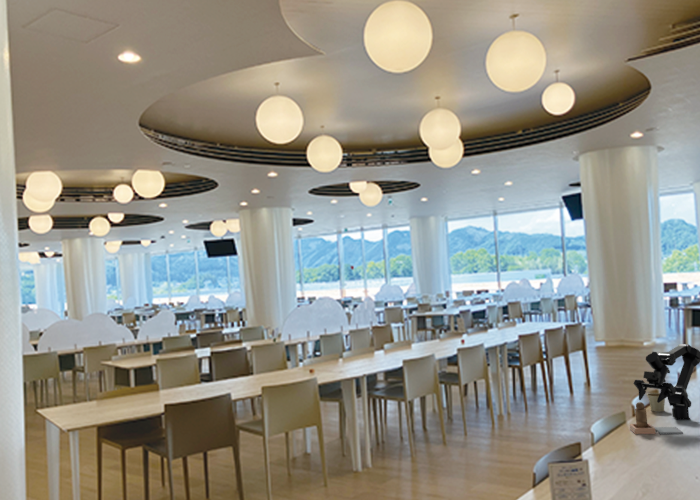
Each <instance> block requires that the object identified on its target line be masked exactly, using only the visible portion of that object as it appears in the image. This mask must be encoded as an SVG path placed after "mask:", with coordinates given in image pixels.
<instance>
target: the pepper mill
mask: <svg viewBox="0 0 700 500" xmlns="http://www.w3.org/2000/svg"><path fill="white" fill-rule="evenodd" d="M634 413H635V422H636V423H635V424H636V426H637V428H648V425H647V424H648V416H647V408H645V404H644V403H643V402H641V401H639V402H638V401H637V402H636V404H635V409H634Z"/></svg>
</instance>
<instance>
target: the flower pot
mask: <svg viewBox="0 0 700 500" xmlns="http://www.w3.org/2000/svg"><path fill="white" fill-rule="evenodd" d="M659 394H660V392H650V393H646V396H647V398H648V401H649V405H650V411H652V412H656V413H660V412H664V411H665V401H666V398H665V399H663V400H662V401H661V402H659V403H658V402H657V400H658V397H659Z"/></svg>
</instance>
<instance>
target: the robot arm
mask: <svg viewBox="0 0 700 500" xmlns="http://www.w3.org/2000/svg"><path fill="white" fill-rule="evenodd" d="M680 357H682V360H683V365H682V368H681V370H680V372H679V374H678V375H679V376H678V378H677V382H676V384H675V386H674V385H673V383H672V382H666V381H667V380H666V376H667V374H671V370H670V369H669V367H668V366H673V365H674V364H675V363H676V362H677V359H678V358H680ZM645 361H646V362H647V364H649V366H650V368H651V369H653V371H648V370H647V371H643V379H646V382H645V380H642V379H634V381H633V385H634V386H635V388H636V389H637V390H638V400H639V401H642V400H643V398H644V396H645V394H647V390H648V389H655V390H660V392H659V393H660V394H659V397H658V400H657V402H658V403H659V402H661V401H662V400H663V399H665V400H666V398H667V401H668V404H669V406H672V409H671V413H672V417H673V418H674V419H675V420H678V419H681V420H691V417H690V410H689V408H691V407H692V401H691V400H690V398H689V395H688V394H689V393H688V391H687V389H688V386H689V383H690V381H691V378H692V375H693V371H694V369H695V367H696V366H698V365H699V364H700V350H699V349H698V348H696V347H693V346H691V345H690V344H688V343H680V344H678V345H677V346H675V347H674V348H672V349H670V350H668V351H665V352H660V353H658V352H657V351H652V352H651V353H649V354H648V355H646V356H645Z"/></svg>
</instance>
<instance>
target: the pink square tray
mask: <svg viewBox="0 0 700 500" xmlns="http://www.w3.org/2000/svg"><path fill="white" fill-rule="evenodd" d="M647 425H648V428H637V426H636V423H629V430H631V431H632V432H633V433H634V434H635V435H644V434H645V435H646V434H649V435H651V434H654V435H655V434H657V433H656V431H655V428H654V427H655V426H653V425H652V424H651V423H647Z"/></svg>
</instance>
